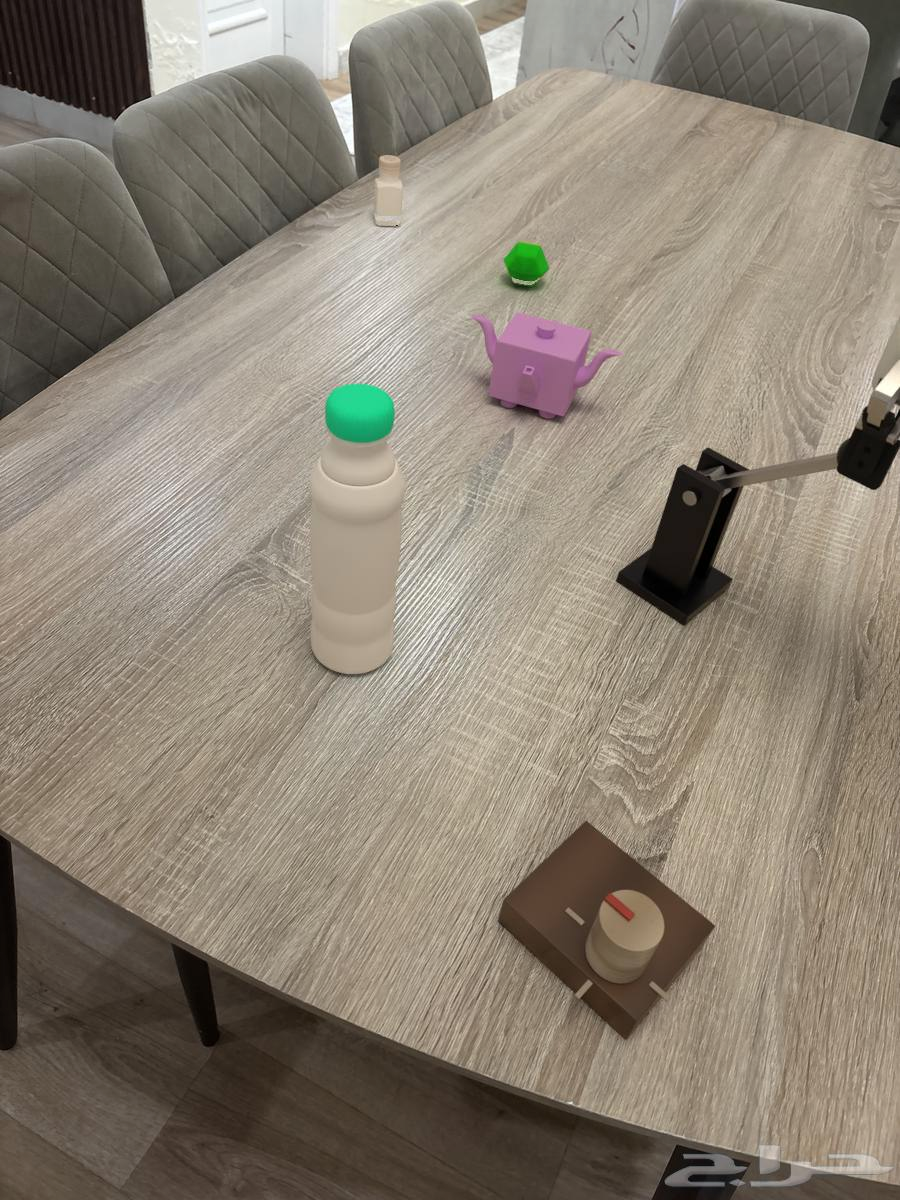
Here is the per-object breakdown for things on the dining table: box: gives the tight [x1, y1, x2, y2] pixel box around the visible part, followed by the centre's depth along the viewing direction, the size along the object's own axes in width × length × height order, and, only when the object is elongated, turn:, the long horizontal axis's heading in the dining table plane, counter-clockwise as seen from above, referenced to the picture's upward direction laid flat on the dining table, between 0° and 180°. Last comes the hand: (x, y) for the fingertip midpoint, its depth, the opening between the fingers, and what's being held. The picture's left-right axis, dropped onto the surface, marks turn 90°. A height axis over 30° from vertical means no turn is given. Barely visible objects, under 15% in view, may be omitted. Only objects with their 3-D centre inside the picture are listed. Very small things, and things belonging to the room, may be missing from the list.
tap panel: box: [497, 820, 716, 1041], centre depth 63 cm, size 12×11×3 cm
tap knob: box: [585, 890, 664, 984], centre depth 58 cm, size 4×4×5 cm
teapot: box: [470, 311, 623, 420], centre depth 109 cm, size 18×13×10 cm
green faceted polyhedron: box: [503, 241, 550, 287], centre depth 134 cm, size 7×6×9 cm
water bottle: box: [308, 382, 406, 675], centre depth 72 cm, size 7×7×25 cm
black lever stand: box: [615, 446, 750, 626], centre depth 86 cm, size 8×8×14 cm
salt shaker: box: [373, 154, 404, 227], centre depth 143 cm, size 4×4×10 cm
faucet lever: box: [697, 437, 850, 497], centre depth 77 cm, size 17×3×3 cm
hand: (885, 455), depth 70 cm, fingers open, 9 cm apart
